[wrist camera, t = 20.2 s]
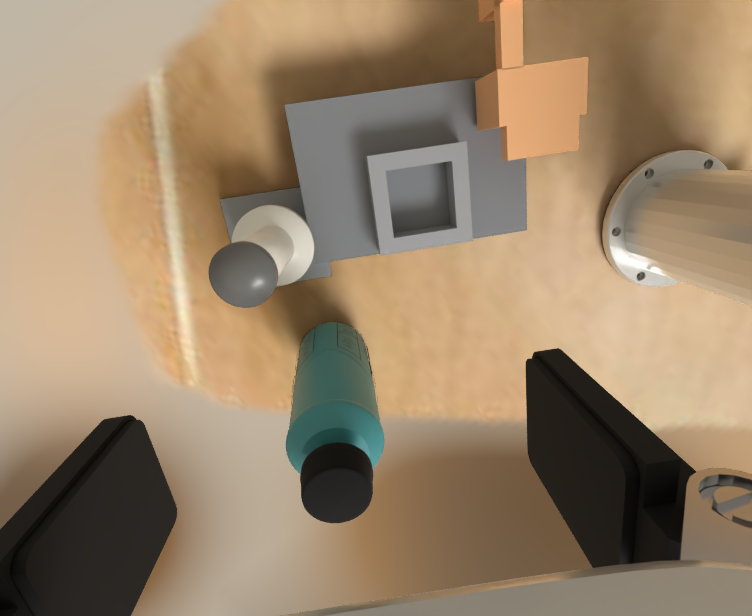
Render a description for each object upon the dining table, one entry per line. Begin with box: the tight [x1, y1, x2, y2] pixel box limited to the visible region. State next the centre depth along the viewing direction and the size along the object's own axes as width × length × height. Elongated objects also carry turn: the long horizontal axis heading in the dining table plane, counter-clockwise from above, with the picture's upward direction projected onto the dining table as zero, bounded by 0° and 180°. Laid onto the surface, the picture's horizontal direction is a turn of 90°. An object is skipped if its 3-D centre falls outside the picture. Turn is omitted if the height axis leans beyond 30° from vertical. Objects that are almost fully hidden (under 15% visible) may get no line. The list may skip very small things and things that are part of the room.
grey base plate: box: [284, 76, 527, 264], centre depth 34 cm, size 18×12×6 cm, turn 98°
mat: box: [220, 187, 332, 282], centre depth 37 cm, size 8×8×1 cm
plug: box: [209, 205, 315, 308], centre depth 31 cm, size 6×6×12 cm
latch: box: [475, 0, 588, 161], centre depth 29 cm, size 6×11×5 cm, turn 8°
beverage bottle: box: [286, 322, 384, 523], centre depth 32 cm, size 6×7×20 cm
